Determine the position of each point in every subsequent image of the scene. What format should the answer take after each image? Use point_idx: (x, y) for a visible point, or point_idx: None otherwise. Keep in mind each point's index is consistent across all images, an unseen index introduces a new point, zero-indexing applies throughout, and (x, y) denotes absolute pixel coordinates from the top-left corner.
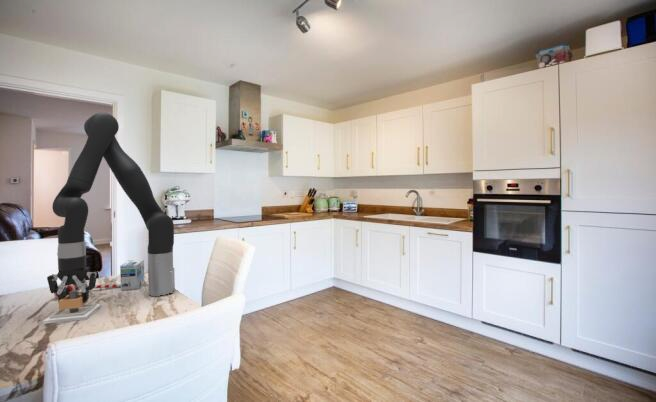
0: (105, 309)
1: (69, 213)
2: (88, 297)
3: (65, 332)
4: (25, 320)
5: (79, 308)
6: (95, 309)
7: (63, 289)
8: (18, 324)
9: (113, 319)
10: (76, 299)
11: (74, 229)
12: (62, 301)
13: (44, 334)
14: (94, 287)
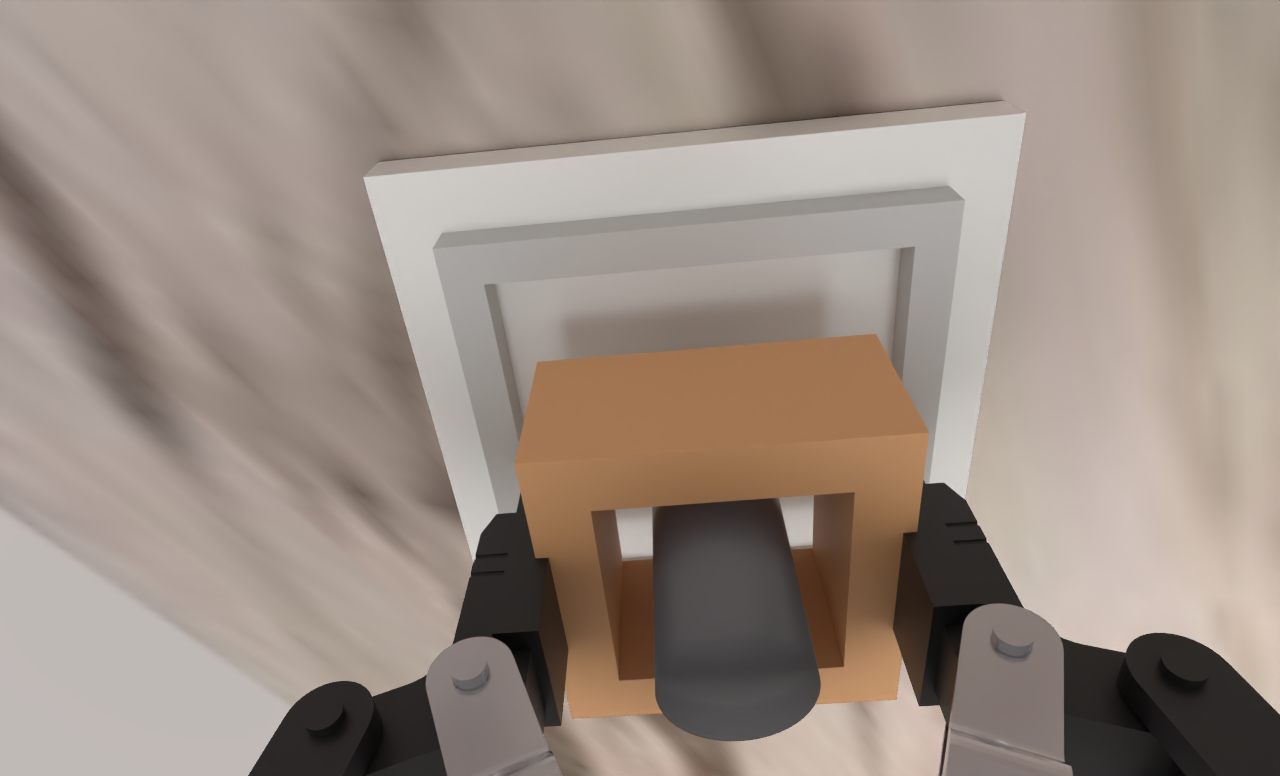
0: (1100, 272)
1: None
2: (970, 527)
3: (846, 765)
4: (175, 474)
5: (718, 304)
6: (983, 360)
7: (500, 721)
8: (214, 564)
9: (1237, 603)
10: (843, 700)
11: None
12: (628, 699)
13: (683, 770)
14: (1198, 646)
